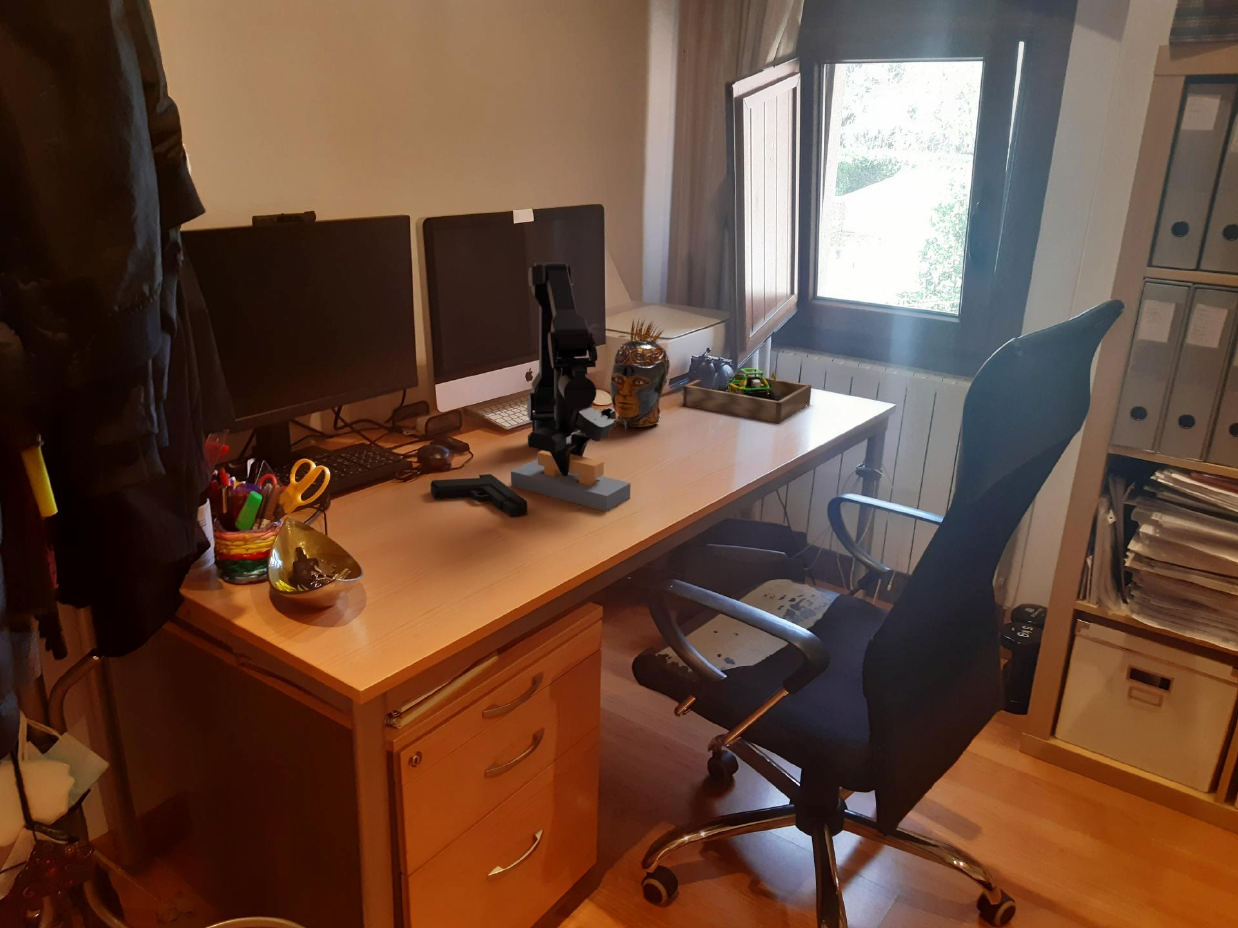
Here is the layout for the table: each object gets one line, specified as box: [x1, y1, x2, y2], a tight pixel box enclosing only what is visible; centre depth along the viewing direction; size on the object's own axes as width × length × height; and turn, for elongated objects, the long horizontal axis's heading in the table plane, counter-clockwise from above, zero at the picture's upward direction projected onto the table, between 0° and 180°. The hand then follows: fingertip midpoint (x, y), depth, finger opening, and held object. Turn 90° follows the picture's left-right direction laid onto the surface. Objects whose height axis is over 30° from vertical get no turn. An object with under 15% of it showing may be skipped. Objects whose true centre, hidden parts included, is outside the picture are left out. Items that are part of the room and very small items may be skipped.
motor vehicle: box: [718, 367, 781, 406], centre depth 229 cm, size 12×19×11 cm, turn 13°
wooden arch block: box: [537, 450, 605, 486], centre depth 172 cm, size 13×3×6 cm, turn 58°
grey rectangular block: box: [510, 459, 631, 512], centre depth 173 cm, size 22×8×3 cm, turn 58°
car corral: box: [682, 372, 812, 424], centre depth 231 cm, size 26×20×5 cm
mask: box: [609, 317, 671, 433], centre depth 211 cm, size 12×21×25 cm, turn 157°
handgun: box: [430, 473, 528, 517], centre depth 167 cm, size 3×19×12 cm
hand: (569, 473), depth 172 cm, fingers closed on wooden arch block, 3 cm apart
